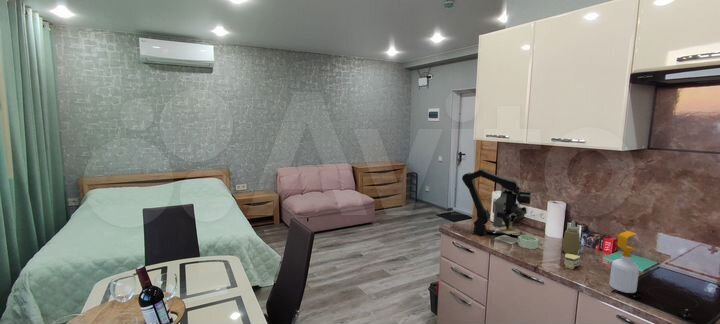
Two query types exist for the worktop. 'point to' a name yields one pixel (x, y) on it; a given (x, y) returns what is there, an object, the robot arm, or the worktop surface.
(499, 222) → the liquor
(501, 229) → the lid
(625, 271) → the soap bottle
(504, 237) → the mat
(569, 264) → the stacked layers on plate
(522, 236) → the bowl
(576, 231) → the squeeze bottle
